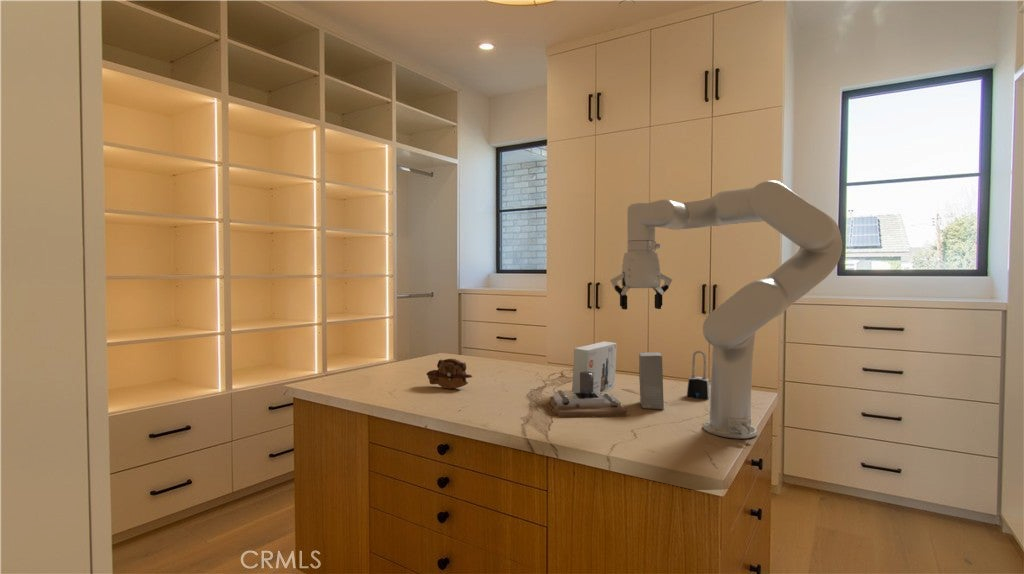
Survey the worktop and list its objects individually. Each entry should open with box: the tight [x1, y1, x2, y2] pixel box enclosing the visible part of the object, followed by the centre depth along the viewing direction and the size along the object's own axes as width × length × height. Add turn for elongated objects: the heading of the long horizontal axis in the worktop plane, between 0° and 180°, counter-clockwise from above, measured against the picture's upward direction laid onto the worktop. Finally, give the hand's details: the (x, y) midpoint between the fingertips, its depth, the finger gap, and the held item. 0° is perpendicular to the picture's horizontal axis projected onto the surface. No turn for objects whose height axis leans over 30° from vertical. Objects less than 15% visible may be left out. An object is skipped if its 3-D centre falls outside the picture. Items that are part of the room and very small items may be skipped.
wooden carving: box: [426, 358, 473, 389], centre depth 171 cm, size 16×5×10 cm, turn 73°
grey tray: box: [553, 389, 622, 408], centre depth 149 cm, size 9×18×3 cm, turn 95°
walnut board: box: [549, 396, 627, 418], centre depth 149 cm, size 16×19×2 cm
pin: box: [579, 371, 594, 398], centre depth 148 cm, size 4×4×9 cm
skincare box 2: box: [638, 351, 665, 410], centre depth 152 cm, size 8×7×16 cm
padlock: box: [686, 350, 711, 400], centre depth 163 cm, size 7×4×15 cm, turn 62°
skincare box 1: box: [571, 340, 618, 395], centre depth 167 cm, size 21×5×16 cm, turn 143°
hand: (641, 308), depth 143 cm, fingers open, 9 cm apart
